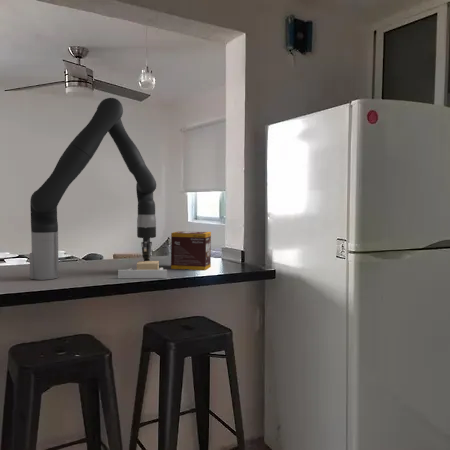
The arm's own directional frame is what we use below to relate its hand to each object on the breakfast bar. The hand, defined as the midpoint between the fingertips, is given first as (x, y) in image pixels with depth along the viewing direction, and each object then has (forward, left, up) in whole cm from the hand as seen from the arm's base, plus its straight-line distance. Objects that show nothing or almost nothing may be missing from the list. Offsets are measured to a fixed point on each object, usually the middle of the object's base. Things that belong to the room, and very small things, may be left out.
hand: (146, 268), depth 182 cm
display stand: (0, -8, -2) cm, 8 cm away
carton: (+1, -6, -2) cm, 7 cm away
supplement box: (+18, +11, -2) cm, 21 cm away
